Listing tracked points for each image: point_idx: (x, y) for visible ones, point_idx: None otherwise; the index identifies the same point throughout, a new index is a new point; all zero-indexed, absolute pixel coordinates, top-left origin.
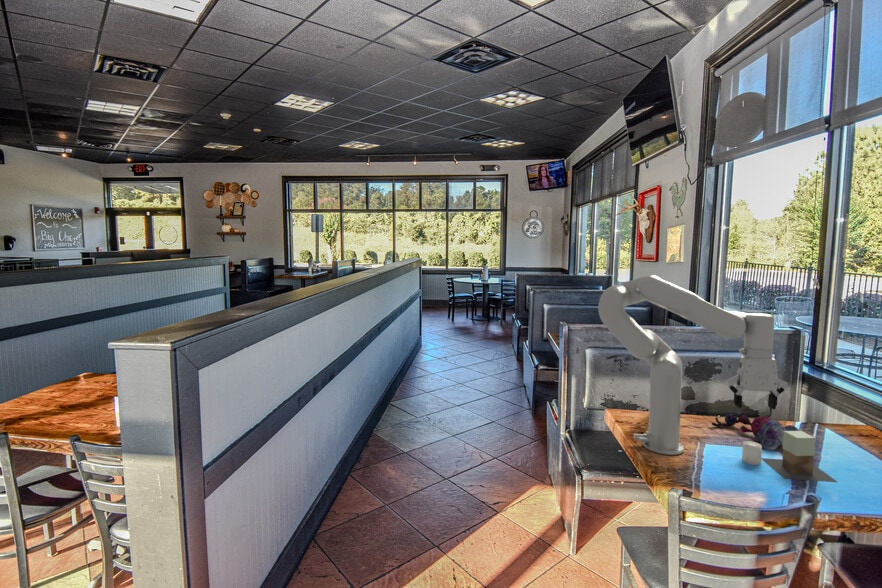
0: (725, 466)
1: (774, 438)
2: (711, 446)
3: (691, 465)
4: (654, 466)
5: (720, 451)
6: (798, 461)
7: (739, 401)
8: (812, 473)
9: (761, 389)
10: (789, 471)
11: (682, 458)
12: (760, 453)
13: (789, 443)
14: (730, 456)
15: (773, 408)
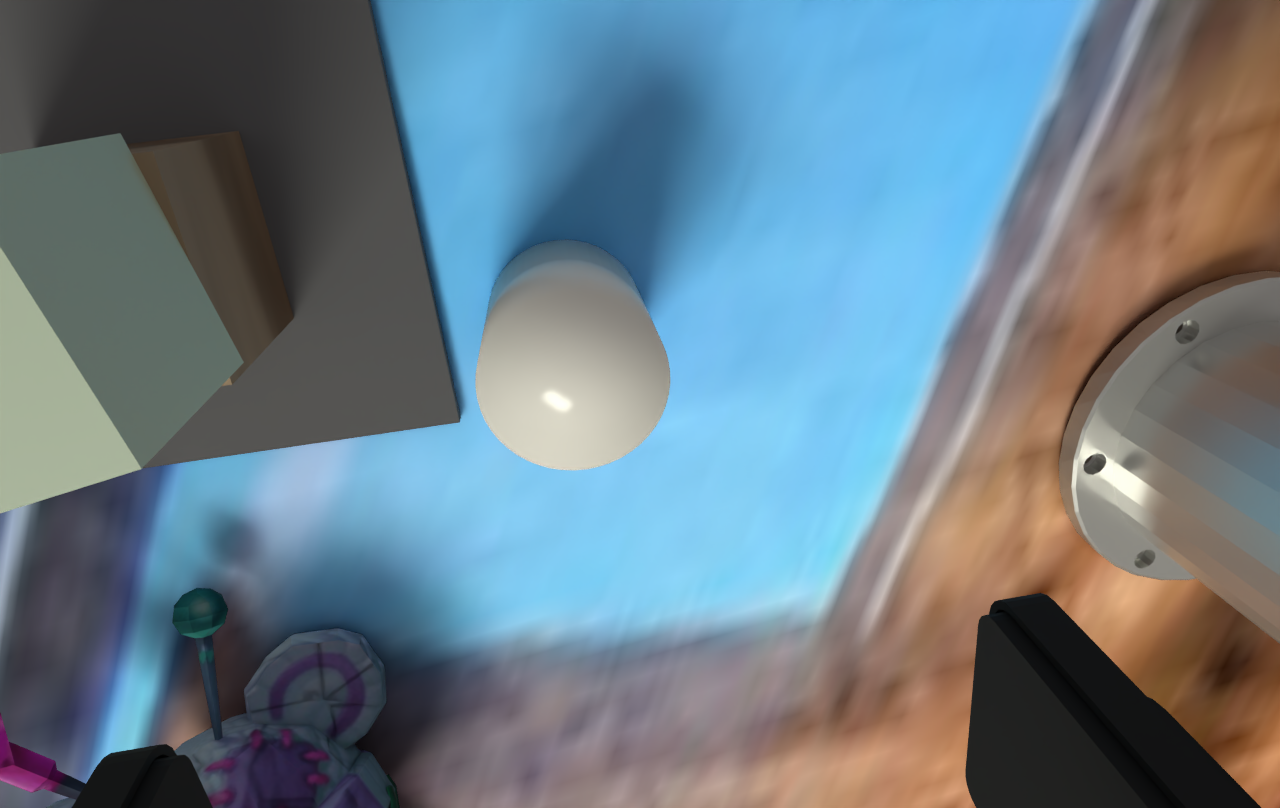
0: (837, 153)
1: (256, 739)
2: (794, 573)
3: (1146, 86)
4: None
5: (756, 492)
6: None
7: (1156, 729)
8: None
9: None
10: (259, 162)
11: (1152, 237)
12: (504, 296)
13: (136, 289)
14: (708, 407)
15: (162, 761)
